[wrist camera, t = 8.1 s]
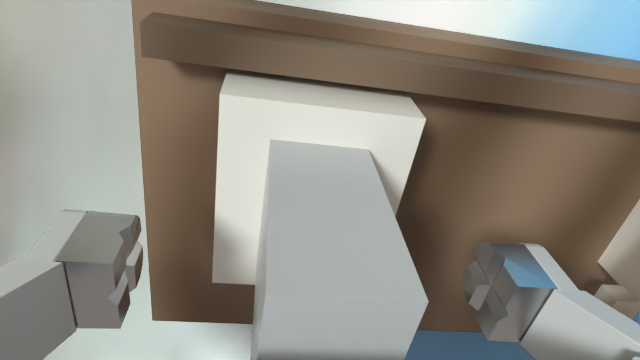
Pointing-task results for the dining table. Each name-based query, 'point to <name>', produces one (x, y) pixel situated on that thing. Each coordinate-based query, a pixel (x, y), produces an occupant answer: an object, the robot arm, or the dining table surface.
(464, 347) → the dining table surface
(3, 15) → the dining table surface
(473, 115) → the brown board with blocks
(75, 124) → the dining table surface
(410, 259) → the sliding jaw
